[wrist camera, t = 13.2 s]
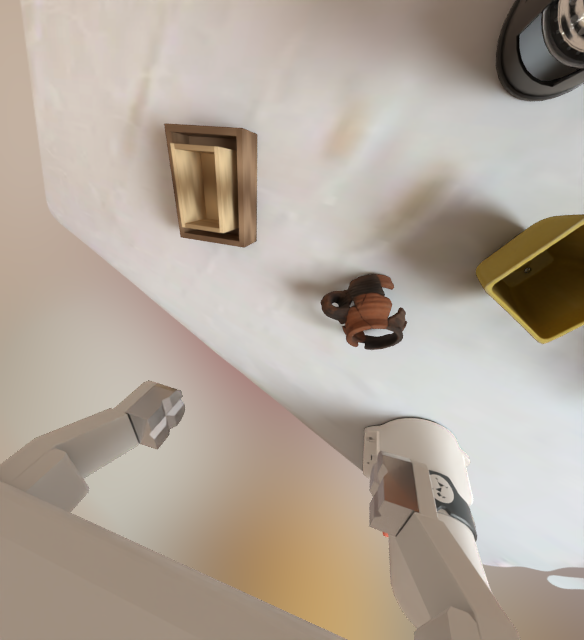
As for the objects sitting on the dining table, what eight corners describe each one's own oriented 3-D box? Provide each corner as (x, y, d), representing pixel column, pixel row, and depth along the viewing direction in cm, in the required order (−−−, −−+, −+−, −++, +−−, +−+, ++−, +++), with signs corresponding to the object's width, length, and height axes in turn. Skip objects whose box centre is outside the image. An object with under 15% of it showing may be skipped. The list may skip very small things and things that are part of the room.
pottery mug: (414, 275, 34) (425, 327, 29) (383, 312, 42) (389, 357, 37) (328, 261, 33) (327, 312, 29) (313, 301, 41) (311, 346, 37)
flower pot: (455, 262, 31) (482, 288, 24) (532, 202, 26) (596, 211, 19) (502, 307, 32) (542, 346, 25) (584, 257, 27) (664, 286, 20)
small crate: (242, 226, 36) (223, 233, 31) (205, 221, 37) (182, 227, 32) (241, 151, 31) (218, 146, 27) (199, 148, 32) (170, 143, 28)
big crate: (256, 241, 37) (244, 247, 33) (198, 232, 39) (180, 237, 35) (257, 134, 30) (242, 128, 27) (186, 129, 32) (164, 123, 29)
